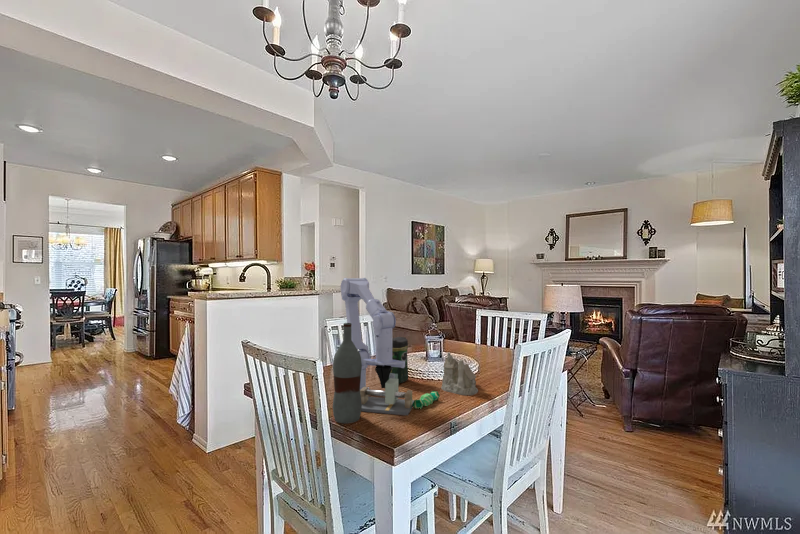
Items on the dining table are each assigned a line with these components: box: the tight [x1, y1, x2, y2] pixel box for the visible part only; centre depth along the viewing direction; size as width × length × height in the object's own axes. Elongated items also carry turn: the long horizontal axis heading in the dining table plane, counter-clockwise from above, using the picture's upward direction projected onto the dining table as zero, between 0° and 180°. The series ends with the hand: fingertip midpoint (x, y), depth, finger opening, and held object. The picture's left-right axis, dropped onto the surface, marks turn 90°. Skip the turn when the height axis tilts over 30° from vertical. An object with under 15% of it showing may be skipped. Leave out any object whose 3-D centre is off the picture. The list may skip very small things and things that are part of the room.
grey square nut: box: [384, 378, 399, 404], centre depth 130 cm, size 3×6×7 cm, turn 166°
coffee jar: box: [388, 336, 409, 384], centre depth 161 cm, size 10×8×19 cm
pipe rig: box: [360, 386, 415, 416], centre depth 130 cm, size 18×12×6 cm, turn 76°
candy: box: [412, 390, 441, 410], centre depth 133 cm, size 12×3×4 cm
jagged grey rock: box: [440, 352, 479, 396], centre depth 152 cm, size 16×16×15 cm
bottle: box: [332, 322, 362, 424], centre depth 120 cm, size 9×9×30 cm
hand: (384, 387), depth 130 cm, fingers closed
